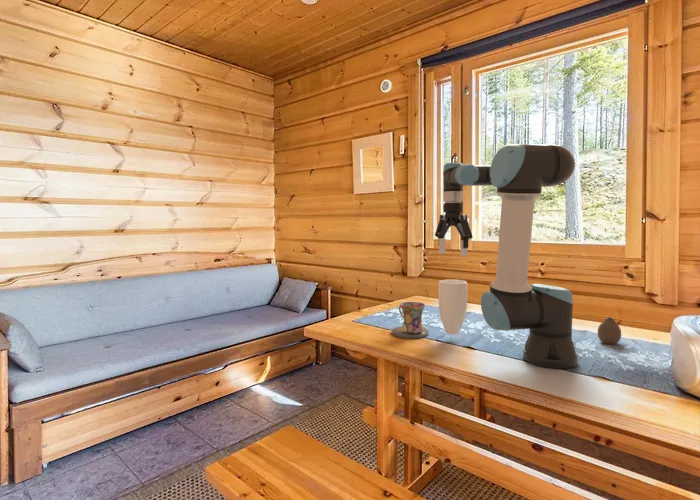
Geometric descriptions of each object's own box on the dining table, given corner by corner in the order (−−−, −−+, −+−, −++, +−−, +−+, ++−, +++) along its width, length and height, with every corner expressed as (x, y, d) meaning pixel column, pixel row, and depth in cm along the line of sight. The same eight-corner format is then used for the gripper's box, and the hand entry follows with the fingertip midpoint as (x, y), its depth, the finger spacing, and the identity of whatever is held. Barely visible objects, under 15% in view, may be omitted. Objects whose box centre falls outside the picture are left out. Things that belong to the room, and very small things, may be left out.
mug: (430, 332, 154) (430, 304, 153) (412, 337, 148) (412, 308, 147) (408, 325, 163) (407, 299, 162) (390, 329, 158) (390, 302, 157)
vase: (609, 347, 137) (610, 321, 136) (592, 341, 143) (593, 316, 142) (625, 345, 138) (626, 319, 138) (608, 339, 145) (609, 315, 144)
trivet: (436, 335, 153) (436, 333, 153) (404, 341, 147) (404, 338, 147) (414, 326, 165) (414, 324, 165) (385, 331, 159) (384, 328, 159)
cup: (471, 339, 148) (471, 280, 146) (461, 347, 139) (462, 284, 137) (444, 334, 154) (444, 278, 152) (433, 342, 145) (433, 282, 143)
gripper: (482, 201, 153) (481, 257, 155) (440, 203, 176) (440, 252, 177) (466, 201, 150) (466, 258, 152) (426, 203, 172) (426, 253, 174)
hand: (452, 255), depth 165 cm, fingers open, 13 cm apart
